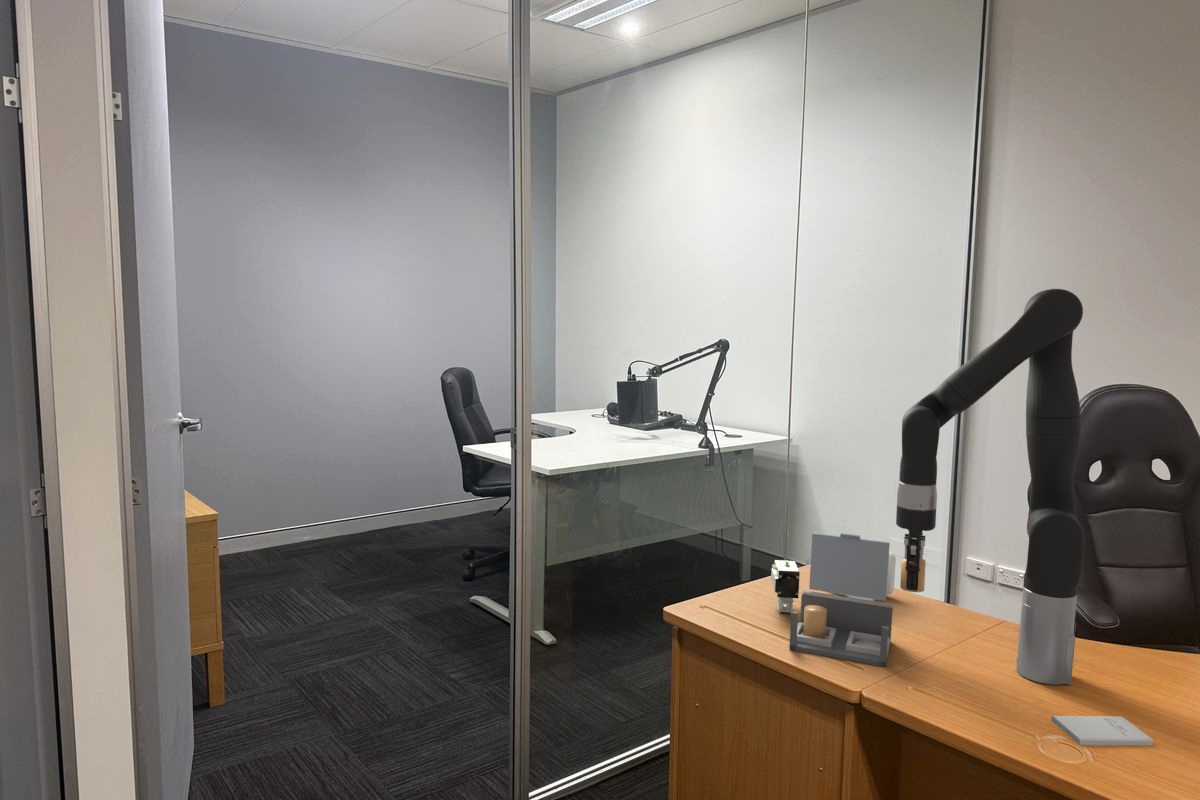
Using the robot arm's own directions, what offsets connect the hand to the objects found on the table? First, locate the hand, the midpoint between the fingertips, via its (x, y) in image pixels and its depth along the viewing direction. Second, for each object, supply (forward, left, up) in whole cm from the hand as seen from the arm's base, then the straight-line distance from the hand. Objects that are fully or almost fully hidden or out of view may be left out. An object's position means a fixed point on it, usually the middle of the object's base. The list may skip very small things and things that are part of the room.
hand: (912, 585), depth 169 cm
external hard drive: (-32, +20, -15) cm, 41 cm away
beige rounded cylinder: (0, 0, -1) cm, 1 cm away
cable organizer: (+13, -33, -15) cm, 38 cm away
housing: (+13, +2, -15) cm, 20 cm away
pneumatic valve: (+28, -13, -15) cm, 34 cm away
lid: (+13, -4, +1) cm, 14 cm away
